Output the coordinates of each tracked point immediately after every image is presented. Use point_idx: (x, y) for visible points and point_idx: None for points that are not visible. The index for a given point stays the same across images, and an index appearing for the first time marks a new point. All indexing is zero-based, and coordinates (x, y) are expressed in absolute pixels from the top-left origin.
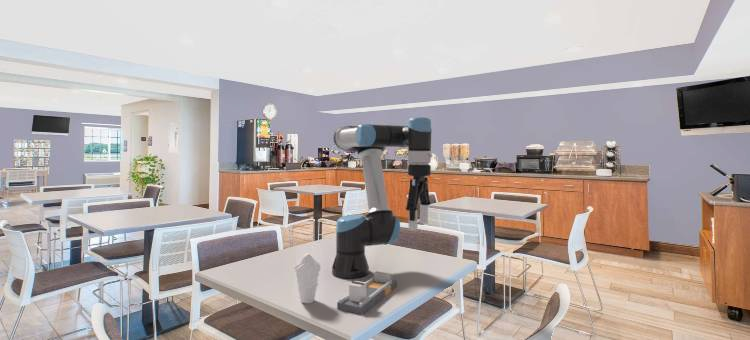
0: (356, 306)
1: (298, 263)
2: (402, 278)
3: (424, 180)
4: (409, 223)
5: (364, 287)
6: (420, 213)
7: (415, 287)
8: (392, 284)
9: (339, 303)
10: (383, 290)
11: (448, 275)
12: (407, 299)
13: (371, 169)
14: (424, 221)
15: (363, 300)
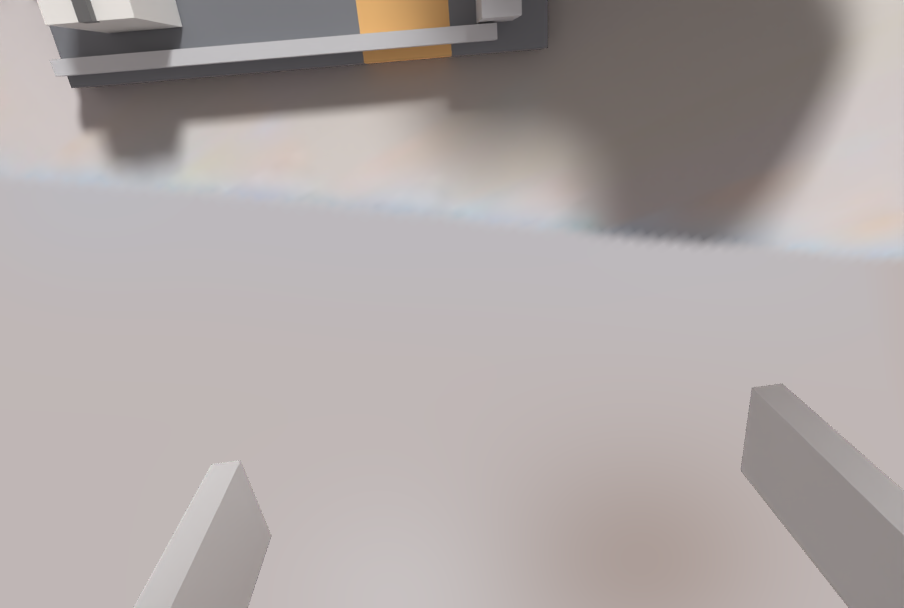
0: (56, 43)
1: None
2: (688, 12)
3: None
4: (174, 549)
5: (122, 21)
6: (861, 504)
7: (568, 157)
8: (473, 53)
9: None
10: (351, 56)
11: (823, 238)
12: (391, 193)
13: None
14: (761, 463)
15: (103, 57)
